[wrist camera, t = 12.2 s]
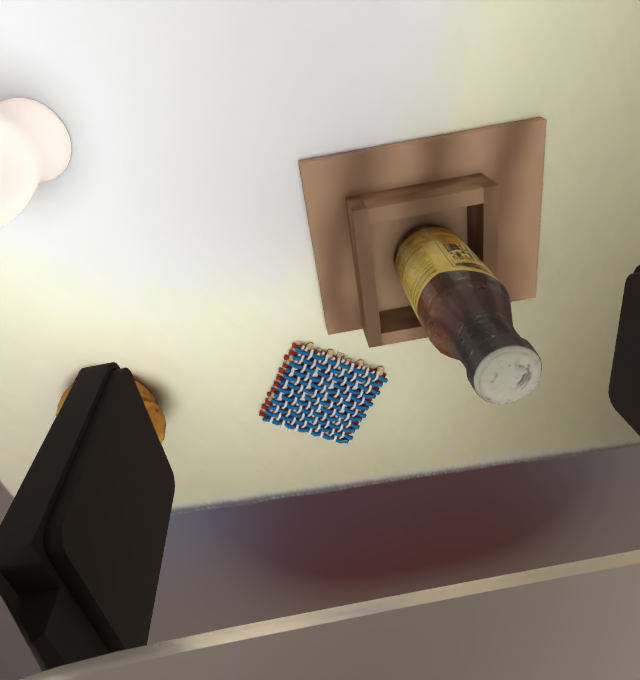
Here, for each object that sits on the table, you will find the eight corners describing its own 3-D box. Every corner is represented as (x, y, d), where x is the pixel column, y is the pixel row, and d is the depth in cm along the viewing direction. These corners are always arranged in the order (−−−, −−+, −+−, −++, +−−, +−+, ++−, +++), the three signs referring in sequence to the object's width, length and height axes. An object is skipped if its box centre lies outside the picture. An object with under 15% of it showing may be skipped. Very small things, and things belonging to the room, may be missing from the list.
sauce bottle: (473, 255, 48) (589, 382, 31) (417, 299, 50) (499, 442, 33) (430, 202, 45) (532, 310, 28) (373, 251, 47) (437, 380, 30)
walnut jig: (539, 116, 43) (571, 127, 39) (530, 291, 52) (555, 317, 47) (298, 160, 43) (302, 175, 39) (326, 328, 52) (332, 357, 47)
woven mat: (293, 332, 52) (294, 343, 50) (387, 365, 55) (392, 376, 54) (255, 412, 57) (254, 424, 55) (344, 438, 60) (346, 450, 58)
